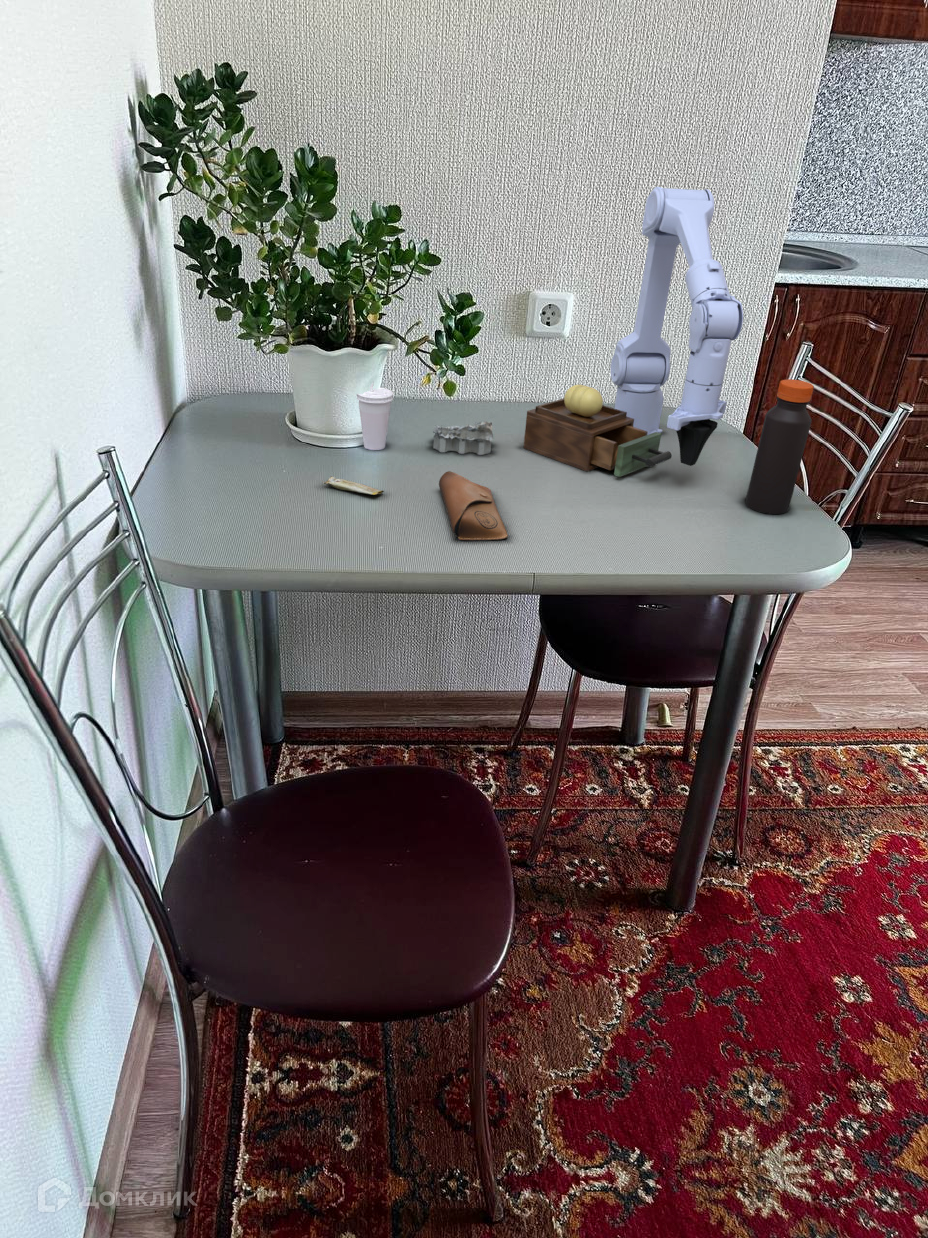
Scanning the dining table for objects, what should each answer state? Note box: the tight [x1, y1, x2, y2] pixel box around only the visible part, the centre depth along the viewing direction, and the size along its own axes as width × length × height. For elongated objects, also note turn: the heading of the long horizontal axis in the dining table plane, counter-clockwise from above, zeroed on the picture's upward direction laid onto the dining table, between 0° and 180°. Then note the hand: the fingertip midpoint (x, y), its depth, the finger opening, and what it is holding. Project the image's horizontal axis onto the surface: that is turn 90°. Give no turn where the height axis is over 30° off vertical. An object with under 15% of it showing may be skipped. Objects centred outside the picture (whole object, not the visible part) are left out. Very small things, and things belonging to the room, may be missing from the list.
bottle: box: [745, 378, 815, 515], centre depth 140 cm, size 7×7×20 cm
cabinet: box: [523, 405, 634, 472], centre depth 160 cm, size 14×12×7 cm
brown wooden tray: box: [534, 397, 627, 430], centre depth 158 cm, size 11×12×1 cm
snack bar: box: [322, 476, 385, 496], centre depth 140 cm, size 10×2×3 cm
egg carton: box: [432, 421, 494, 456], centre depth 160 cm, size 11×8×4 cm
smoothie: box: [356, 382, 394, 451], centre depth 155 cm, size 6×6×14 cm
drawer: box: [591, 425, 673, 478], centre depth 155 cm, size 18×11×5 cm, turn 46°
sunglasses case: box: [438, 470, 509, 542], centre depth 135 cm, size 18×7×7 cm, turn 9°
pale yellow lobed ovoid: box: [563, 384, 604, 417], centre depth 157 cm, size 5×7×5 cm
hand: (687, 463), depth 147 cm, fingers closed
